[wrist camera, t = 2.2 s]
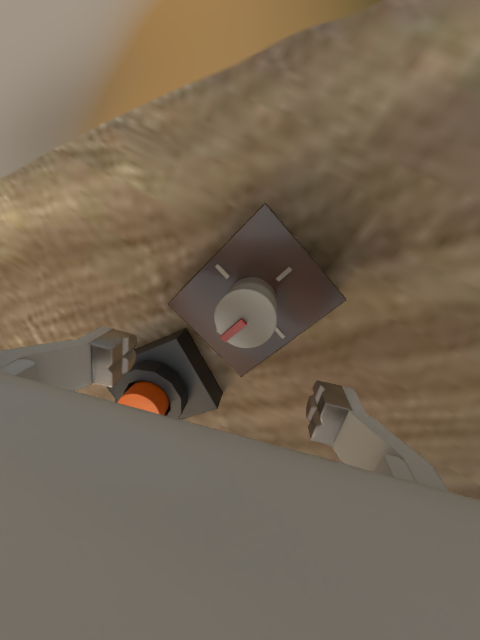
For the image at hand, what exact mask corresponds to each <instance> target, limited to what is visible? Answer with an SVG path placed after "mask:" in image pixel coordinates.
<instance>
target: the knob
mask: <svg viewBox="0 0 480 640" xmlns="http://www.w3.org/2000/svg"><path fill="white" fill-rule="evenodd" d="M214 320H215V325H216V328H217V330H218V332H219V334H220V335H221V336H220V338H221V339H222V340H223V341H224V342H229V343H230V344H232V345H234V346H237V347H241V348H253V347H257V346H260V345H262V344H264V343H265V342H266V341H268V340H269V339H270V338H271V336H272V335H273V333H274V331H275V329H276V326H277V296H276V293H275V291H274V289H273V288H272V287H271V285H270V284H268V283H267V282H266V281H264V280H262V279H260V278H256V277H247V278H243V279H240V280H238V281H237V282H235V283H234V284H233V285H232V286H231V288H230V289H229V290H228V291H227V292H226V293H225V295H224V296H223V297H222V298H221V299H220V301H219V302H218V304H217V306H216V309H215V313H214Z"/></svg>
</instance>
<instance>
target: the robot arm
mask: <svg viewBox="0 0 480 640" xmlns="http://www.w3.org/2000/svg"><path fill="white" fill-rule="evenodd" d="M136 344H137V337H136V336H135V335H134V334H130V333H126V332H123V331H119V330H115V329H112V328H107V327H100V328H98V329H96V330H94V331H92V332H90V333H88V334H86V335H85V336H83V337H81V338H79V339H77V340H66V341H60V342H53V343H47V344H41V345H34V346H28V347H21V348H15V349H9V350H2V351H0V640H480V500H478V499H474V498H470V497H467V496H463V495H459V494H456V493H452V492H449V490H448V489H447V487H446V486H445V484H444V483H443V481H442V480H441V478H440V477H439V475H438V474H437V472H436V471H435V469H434V468H433V466H432V465H431V464H430V463H429V462H427V461H426V460H425V459H424V458H423V457H421V456H420V455H419V454H418V453H416V452H415V451H414V450H413V449H411V448H410V447H409V446H408V445H407V444H405V443H404V442H403V441H402V440H400V439H399V438H398V437H397V436H395V435H394V434H393V433H392V432H390V431H389V430H388V429H387V428H386V427H384V426H383V425H382V424H381V423H379V422H378V421H377V420H376V419H374V418H373V417H372V416H370V415H367V414H366V412H365V410H364V408H363V406H362V404H361V402H360V400H359V398H358V396H357V394H356V392H355V390H354V389H353V388H349V387H345V386H340V385H336V384H331V383H327V382H322V381H316V382H315V384H314V386H313V392H314V394H313V395H311V396H310V397H309V399H308V402H307V407H306V416H307V419H308V421H309V422H310V424H309V426H308V428H309V434H310V439H311V440H312V441H316V442H319V443H322V444H326V445H329V446H332V448H333V450H334V451H335V452H336V454H337V455H338V456H339V458H340V459H341V461H342V462H343V463H340V462H336V461H333V460H329V459H325V458H321V457H318V456H314V455H310V454H306V453H303V452H299V451H295V450H292V449H288V448H284V447H280V446H277V445H273V444H269V443H265V442H262V441H258V440H254V439H250V438H247V437H243V436H239V435H235V434H232V433H228V432H224V431H220V430H217V429H213V428H209V427H205V426H202V425H198V424H194V423H191V422H187V421H183V420H179V419H176V418H172V417H168V416H164V415H161V414H157V413H153V412H149V411H146V410H142V409H138V408H134V407H131V406H127V405H123V404H120V403H116V402H112V401H108V400H105V399H101V398H97V397H93V396H90V395H86V394H82V393H78V392H75V391H76V390H79V389H81V388H84V387H86V386H88V385H91V384H92V383H94V384H99V385H103V386H107V387H111V388H112V387H113V386H114V385H115V384H116V383H117V382H118V381H119V380H120V379H122V374H125V373H128V372H129V371H130V370H131V369H132V367H133V365H134V364H135V361H136V351H135V349H134V347H135V346H136Z"/></svg>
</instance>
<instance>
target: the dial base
mask: <svg viewBox="0 0 480 640" xmlns="http://www.w3.org/2000/svg"><path fill="white" fill-rule="evenodd" d="M247 277H256V278H260V279H262V280H264V281H266V282H267V283H268V284H270V285H271V287H272V288H273V289H274V291H275V293H276V296H277V326H276V329H275V331H274V333H273V335H272V336H271V338H270V339H269V340H268V341H266V342H265V343H264V344H262V345H260V346H257V347H253V348H241V347H237V346H234V345H232V344H230V343H229V342H224V341H223V340H222V339H221V338H220V336H221V335H220V334H219V332H218V330H217V328H216V325H215V320H214V313H215V309H216V306H217V304H218V302H219V301H220V299H221V298H222V297H223V296H224V295H225V293H226V292H227V291H228V290H229V289H230V288H231V286H232V285H233V284H234V283H235V282H237V281H238V280H240V279H243V278H247ZM344 301H346V298H345V297H344V296H343V294H342V293H341V292H340V291H339V290H338V288H337V287H336V286H335V285H334V284H333V283H332V281H331V280H330V279H329V278H328V277H327V275H326V274H325V273H324V272H323V271H322V269H321V268H320V267H319V266H318V265H317V264H316V262H315V261H314V260H313V259H312V258H311V256H310V255H309V254H308V253H307V252H306V250H305V249H304V248H303V247H302V246H301V245H300V243H299V242H298V241H297V240H296V239H295V237H294V236H293V235H292V234H291V233H290V231H289V230H288V229H287V228H286V227H285V226H284V224H283V223H282V222H281V221H280V220H279V218H278V217H277V216H276V215H275V214H274V212H273V211H272V210H271V209H270V208H269V206H268V205H267V204H266V203H265V204H263V205H262V207H261V208H260V209H259V210H258V211H257V212H256V213H255V214H254V215H253V216H252V217H251V218H250V219H249V220H248V221H247V222H246V223H245V224H244V225H243V226H242V227H241V228H240V229H239V230H238V231H237V232H236V233H235V234H234V236H233V237H232V238H231V239H230V240H229V241H228V242H227V243H226V244H225V245H224V246H223V247H222V248H221V249H220V250H219V251H218V252H217V253H216V254H215V255H214V256H213V257H212V258H211V259H210V260H209V261H208V262H207V264H206V265H205V266H204V267H203V268H202V269H201V270H200V271H199V272H198V273H197V274H196V275H195V276H194V277H193V278H192V279H191V280H190V281H189V282H188V283H187V284H186V285H185V286H184V287H183V288H182V289H181V290H180V292H179V293H178V294H177V295H176V296H175V297H174V298H173V299H172V300H171V301H170V302H169V303H168V305H169V306H170V307H171V308H172V309H173V310H174V311H175V312H176V313H177V314H178V315H179V316H180V317H181V318H182V319H183V320H184V321H185V322H186V323H187V324H188V325H189V326H190V327H191V328H192V329H193V330H194V331H195V332H196V333H197V334H198V335H199V336H200V337H201V338H202V339H203V340H204V341H205V342H206V343H207V344H208V345H209V346H210V347H211V348H212V349H213V350H214V351H215V352H217V353H218V354H219V355H220V356H221V357H222V358H223V359H224V360H225V361H226V362H227V363H228V364H229V365H230V366H231V367H232V368H233V369H234V370H235V371H236V372H237V373H238V374H239V375H240V376H241V377H242V376H243V375H245V374H246V373H248V372H249V371H250V370H252V369H253V368H254V367H256V366H257V365H258V364H260V363H261V362H263V361H264V360H265V359H267V358H268V357H269V356H271V355H272V354H273V353H275V352H276V351H278V350H279V349H280V348H282V347H283V346H284V345H286V344H287V343H288V342H290V341H291V340H293V339H294V338H295V337H297V336H298V335H299V334H301V333H302V332H303V331H305V330H306V329H308V328H309V327H310V326H312V325H313V324H314V323H316V322H317V321H318V320H320V319H321V318H322V317H324V316H325V315H327V314H328V313H329V312H331V311H332V310H333V309H335V308H336V307H337V306H339V305H340V304H342V303H343V302H344Z"/></svg>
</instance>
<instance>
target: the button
mask: <svg viewBox="0 0 480 640" xmlns="http://www.w3.org/2000/svg"><path fill="white" fill-rule="evenodd" d="M118 403H120V404H123V405H127V406H131V407H134V408H138V409H142V410H146V411H149V412H153V413H157V414H161V415H164V414H165V412H166V411H167V409H168V406H169V400H168V397H167V395H166V393H165V392H164V390H163V389H162V388H161V387H159V386H158V385H156V384H154V383H152V382H148V381H140V382H137V383H135V384H133V385H132V386H131V387H130V388H129V389H128V390H127V391H126V392H125V394H124V395H123V396H122V397H121V398H120V399H119V401H118Z"/></svg>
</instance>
